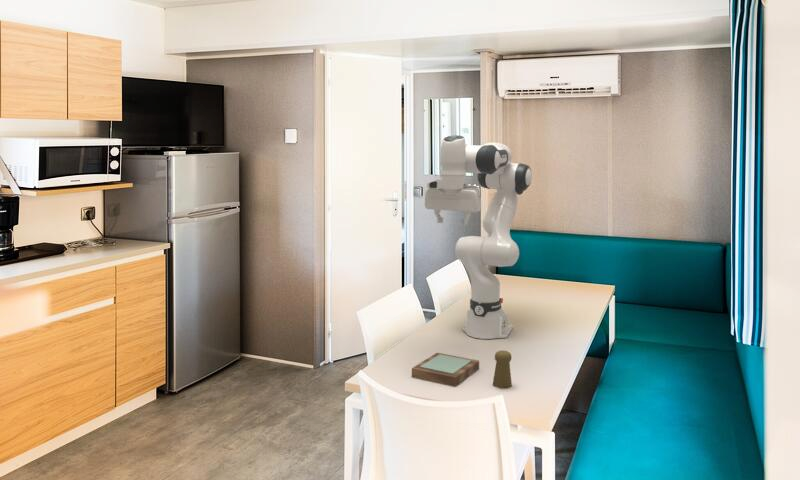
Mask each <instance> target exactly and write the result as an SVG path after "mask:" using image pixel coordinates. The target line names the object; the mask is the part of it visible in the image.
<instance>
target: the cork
mask: <svg viewBox="0 0 800 480" xmlns="http://www.w3.org/2000/svg"><path fill="white" fill-rule="evenodd" d="M494 360H495V361H496V363H495V368H494V375H493V380H492V386H493V387H495V388H498V389H510V388H511V387H512V386H513V385H512V373H511V365H510V363H511V360H512V354H511V352H509V351H508V350H498V351H496V352H495V354H494Z"/></svg>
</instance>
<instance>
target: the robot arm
mask: <svg viewBox="0 0 800 480" xmlns="http://www.w3.org/2000/svg"><path fill="white" fill-rule="evenodd" d="M440 147H441V148H440V158H439V160H440V161H439V163H440V166H441V167H440V169H441V170H440V175H439V178H436V179H434V180H431V181H428V182H426V188H427V189H426V190H425V193H424V194H425V195H424V207H425V209H427V210H434V211H433V213H434V215H435V216H436V223H437V224H438V223H440V224H443V223H444V217H442V215H441V214H440V213H441V211H450V212H463V213H464V215H465V217H464V218H463V219H461V225H463V226H467V225H468V224H469V223H468V221H469V219H470V217H471V215H472V213H478V212H480V211H481V210H482V200H481V196H482V195H481V194H482V189H481V188H480V187H482V188H483V189H487V190H488V189H489V190H490V189H492V190H496V192H495V194H494V195H493V197H492V198H491V201H490V203H489V204H488V207H487V210H486V212H485V214H484V218H483V219H482V228H483V229H484V231H485V233H487V234H488V235H490V236H477V235H467V236H461V237H460V238H459V239H458V240H457V241H456V243H455V246H454V253H455V256H456V258H457V259H458V261H460V263H462V264H463V265H464V267H465V268H466V271H467V273H468V275H469V278H470V287H471V288H470V289H471V290H470V291H471V293H470V294H471V295H470V296H471V297H470V299H469V308H470V309H468V310H467V312H466V320H465V327H462V332H465V334H466V335H467V336H469V337H471V338H474V339H475V338H476V339H481V340H491V339H504V338H505V339H507V338H508V337H509V335H510V333H511V332H512V330H513V328H514V326H513V324H509V323H508V314H507V313H506V312H505V311H504V310H503V309H502V303H503V302H504V298H503V297H500V294H501V291H500V290H501V287H500V286H501V283H500V280H499V278H498V277H497V275H495V274H494V273H492V272H491V271H490V270H489V268H488V266H491V267H498V268H503V267H513V266H514V265H515V264H516V263H517V262H518V260H519V257H520V249H519V245H518V244H517V242H515V241H514V240H513V239H512V237H511V232H510V230H511V229H512V224H513V221H514V217H515V215H516V211H517V205H518V195H519V196H520V195H522V194H523V193H524V192H525V191H526V190H527V189H528V188H529V186H530V185H531V184H532V179H533V174H532V169H531V167H530V166H529V165H528V164H525V163H521V162H520V163H516V162H512V159H513V153H512V150H511V148H510V147H509V146H507V145H505V144H504V143H501V142H494V141H493V142H487V143H484V144H482V145H481V144H480V145H474V144H473V145H470V144H469V145H468V144H466V139H465V137H464V136H463V135H449V136H446V137H445V136H444V138H443V139H442V142H441V146H440ZM467 174H477V182H478V184H479V185H480V187H479V185H477V184H469V183H468V184H467V183H466V181H467Z"/></svg>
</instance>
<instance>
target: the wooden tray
mask: <svg viewBox="0 0 800 480" xmlns="http://www.w3.org/2000/svg"><path fill="white" fill-rule="evenodd" d="M479 369H480V360H477V359H473V358H468V357H463V356H462V357H461V356H457V355H453V354H447V353H442V352H436V353H433V354H432V355H431V356H429V357H427V358H426V359H424V360H422V361H421V362H419V363H418V364H416V365H414V366H413V367H411V378H415V379H420V380H423V381H429V382H433V383H438V384H441V385H442V384H443V385H447V386H452V387H458V386H459V385H460V384H461V383H463V382H464V381H466V380H467V379H468V378H470V376H472V375H473V374H474V373H476V372H477V371H478V370H479Z"/></svg>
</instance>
